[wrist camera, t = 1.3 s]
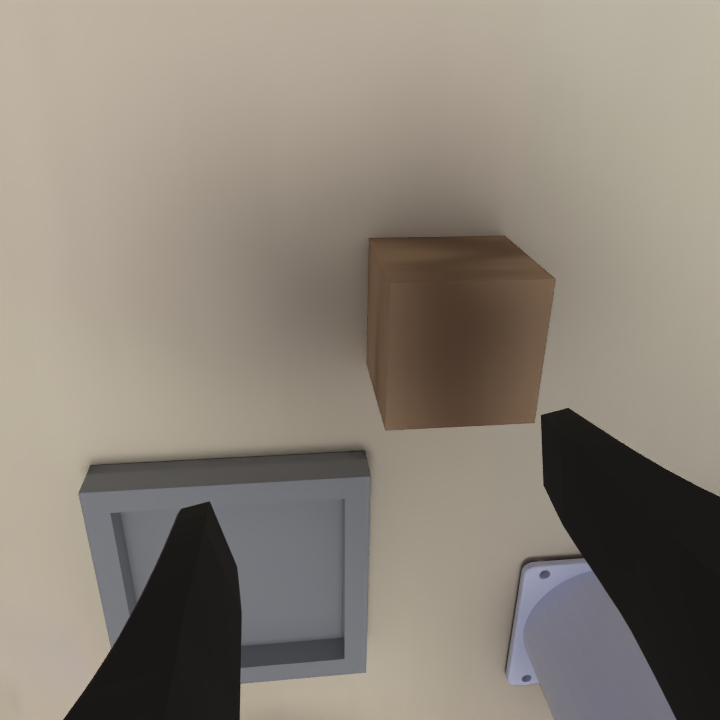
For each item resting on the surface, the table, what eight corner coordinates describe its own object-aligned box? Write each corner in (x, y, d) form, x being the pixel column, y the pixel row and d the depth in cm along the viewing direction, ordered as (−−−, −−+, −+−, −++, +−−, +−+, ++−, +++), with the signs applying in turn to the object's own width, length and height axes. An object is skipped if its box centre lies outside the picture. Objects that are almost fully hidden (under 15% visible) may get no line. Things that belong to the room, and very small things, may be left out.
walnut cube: (504, 235, 24) (555, 279, 20) (490, 358, 26) (534, 423, 22) (368, 237, 24) (390, 283, 19) (366, 363, 26) (385, 430, 21)
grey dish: (365, 451, 27) (370, 476, 26) (361, 641, 32) (366, 672, 31) (90, 465, 26) (78, 493, 25) (128, 660, 31) (120, 694, 29)
